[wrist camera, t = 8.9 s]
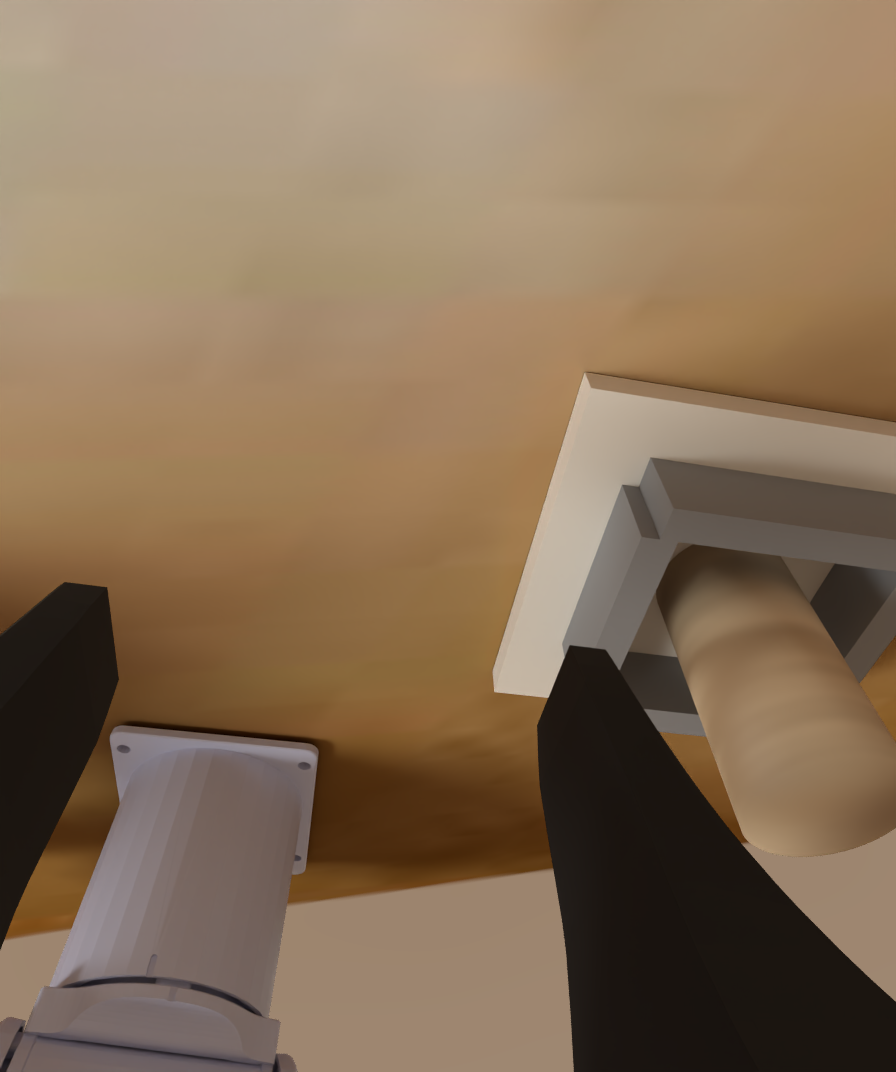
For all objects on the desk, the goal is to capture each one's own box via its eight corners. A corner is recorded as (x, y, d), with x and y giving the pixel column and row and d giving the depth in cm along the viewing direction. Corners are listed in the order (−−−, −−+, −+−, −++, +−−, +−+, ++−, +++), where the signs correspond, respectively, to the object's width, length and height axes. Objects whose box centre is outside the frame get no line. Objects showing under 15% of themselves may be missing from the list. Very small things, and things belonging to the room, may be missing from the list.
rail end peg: (753, 635, 25) (865, 862, 18) (639, 623, 24) (714, 850, 18) (806, 542, 22) (957, 765, 16) (681, 526, 22) (784, 748, 15)
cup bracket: (794, 704, 28) (833, 783, 26) (492, 670, 27) (499, 750, 24) (980, 436, 21) (1064, 504, 18) (584, 372, 20) (609, 434, 17)
